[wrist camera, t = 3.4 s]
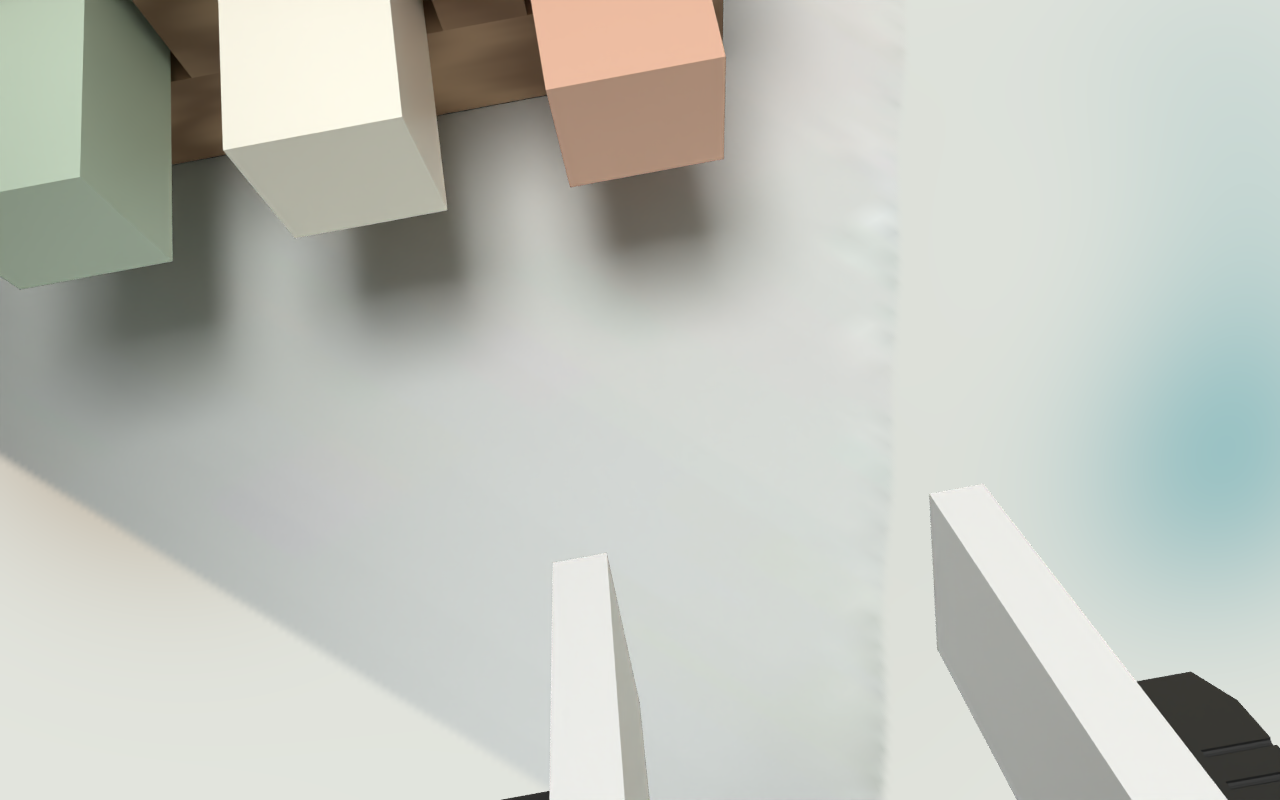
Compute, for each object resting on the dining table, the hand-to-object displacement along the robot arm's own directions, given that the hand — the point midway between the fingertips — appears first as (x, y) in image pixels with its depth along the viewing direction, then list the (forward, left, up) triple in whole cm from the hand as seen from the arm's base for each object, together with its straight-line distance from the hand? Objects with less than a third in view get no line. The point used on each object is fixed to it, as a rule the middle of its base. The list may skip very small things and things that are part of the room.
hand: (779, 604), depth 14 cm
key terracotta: (0, +20, -13) cm, 24 cm away
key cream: (-9, +20, -13) cm, 26 cm away
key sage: (-18, +20, -13) cm, 30 cm away
